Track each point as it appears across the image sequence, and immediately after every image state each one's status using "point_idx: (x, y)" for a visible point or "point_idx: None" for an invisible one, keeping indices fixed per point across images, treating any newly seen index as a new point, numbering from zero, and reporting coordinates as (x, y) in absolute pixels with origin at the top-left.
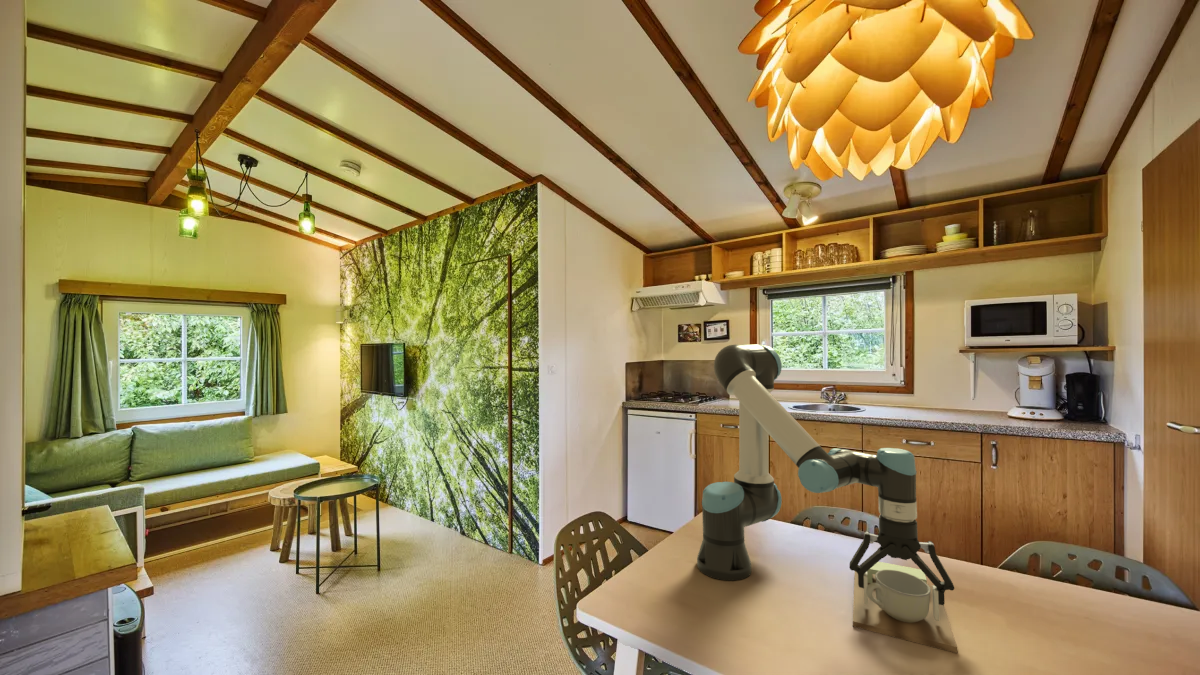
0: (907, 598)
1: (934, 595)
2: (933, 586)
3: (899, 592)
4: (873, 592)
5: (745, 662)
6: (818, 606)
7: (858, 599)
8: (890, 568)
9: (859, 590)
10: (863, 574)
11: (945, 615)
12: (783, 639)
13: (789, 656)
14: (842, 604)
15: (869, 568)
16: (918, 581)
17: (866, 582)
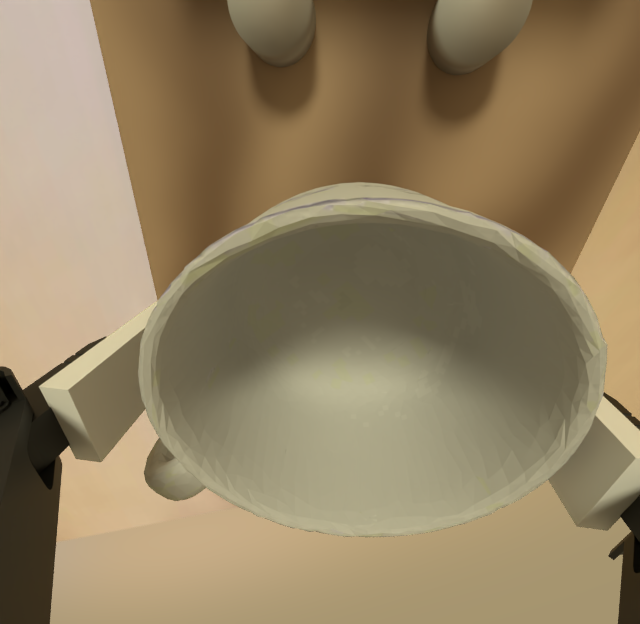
0: (358, 504)
1: (553, 483)
2: (626, 474)
3: (314, 529)
4: (220, 72)
5: (58, 536)
6: (55, 306)
7: (162, 224)
8: None
9: (141, 89)
10: (63, 448)
11: (590, 210)
12: (70, 477)
13: (107, 513)
14: (119, 251)
15: (50, 546)
16: (547, 307)
17: (127, 421)
